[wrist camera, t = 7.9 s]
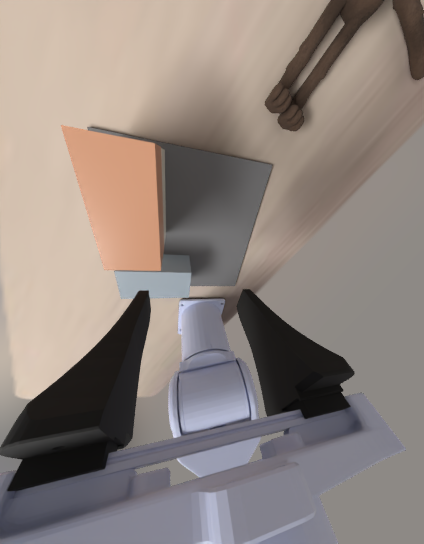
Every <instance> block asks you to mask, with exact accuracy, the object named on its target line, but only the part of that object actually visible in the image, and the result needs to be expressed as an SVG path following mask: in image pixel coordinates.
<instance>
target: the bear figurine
mask: <svg viewBox="0 0 424 544" xmlns="http://www.w3.org/2000/svg"><path fill="white" fill-rule="evenodd" d="M383 1H384V0H331V1H330V2H329V4H328V5H327V7H326V9H325V10H324V12H323V13H322V15H321V16H320V18H319V20H318V21H317V23H316V24H315V26H314V28H313V29H312V31H311V32H310V34H309V35H308V37H307V38H306V40H305V41H304V42H303V43H302V45H301V46H300V48H299V51H298V53H297V54H296V56H295V57H294V58H293V60H292V61H291V62H290V63H289V64H288V66H287V68H286V71H285V73H284V75H283V77H282V78H281V80H280V81H279V83H278V84H277V85H276V86H275V87H274V89H273V90H272V92H271V93H270V95H269V96H268V98H267V99H266V101H265V106H266V107H267V109H268V110H269V111H270V112H271V113H281V114H280V116H279V117H278V123H279V124H280V126H281V127H282V128H283V129H287V130H290V131H297V130H298V129H299V128H300V127H301V126H302V124H303V122H304V116H302V115H303V112H302V110H301V109H302V107H303V106H304V104H305V103H306V101H307V99H308V97H309V96H310V94H311V93H312V91H313V90H314V89H315V87H316V86H317V85H318V83H319V82H320V81H321V80H322V79H323V78H324V77H325V75H326V73H327V71H328V70H329V68H330V67H331V65H332V64H333V63H334V61H335V60H336V59H337V57H338V56H339V55H340V53H341V52H342V50H343V49H344V48H345V46H346V45H347V44H348V42H349V41H350V39H351V38H352V37H353V35H354V34H355V33H356V31H357V30H358V29H359V27H360V26H361V25H362V24H363V23H364V22H365V21H366V20H367V19H368V18H369V17H370V16H371V15H372V14H373V13H374V12H375V11H376V10H377V9H378V8H379V7H380V5H381V4H382V3H383ZM393 9H395V10H396V12H397V14H398V17H399V20H400V23H401V26H402V30H403V33H404V36H405V40H406V43H407V48H408V54H409V63H410V71H411V75H412V77H413V79H415V80H419V79H421V78H423V77H424V15H423V13H424V10H423V7H422V4H421V2H420V0H393ZM339 13H340V14H341V17H342V19H343V21H344V22H345V25H344V26H343V28H342V29H341V31H340V32H339V33H338V35H337V36H336V38H335V39H334V41H333V42H332V43H331V45H330V46H329V48H328V49H327V51H326V52H325V53H324V55H323V56H322V58H321V59H320V61H319V62H318V63H317V65H316V66H315V68H314V69H313V71H312V72H311V73H310V75H309V76H308V78H307V79H306V81H305V82H304V83H303V85H302V86H301V88H300V89H299V91H298V92H297V93H296V95H295V96H294V98H293V99H292V96H291V95H289V88H290V87H291V85H292V84H293V82H294V81H295V79H296V78H297V76H298V75H299V73H300V72H301V70H302V69H303V68H304V67H305V66H306V64H307V62H308V60H309V59H310V57H311V55H312V54H313V52H314V51H315V49H316V48H317V46H318V45H319V43H320V42H321V40H322V39H323V37H324V36H325V34H326V33H327V31H328V30H329V28H330V27H331V25H332V24H333V22H334V21H335V19H336V18H337V16H338V15H339ZM291 100H292V101H291Z"/></svg>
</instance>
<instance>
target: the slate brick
mask: <svg viewBox="0 0 424 544" xmlns="http://www.w3.org/2000/svg"><path fill="white" fill-rule="evenodd" d="M114 272H115V276H116V280H117V284H118V288H119V292H120V296H121V299H134V297H135V296H136V294H137V292H138V291H139V290H149V297H150V298H189V292H190V282H191V266H190V258H189V255H168V254H163V260H162V267H161V271H136V270H115V271H114Z"/></svg>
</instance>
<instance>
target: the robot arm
mask: <svg viewBox="0 0 424 544" xmlns="http://www.w3.org/2000/svg"><path fill="white" fill-rule="evenodd" d="M224 304H225V299H182V300H180V301H179V320H178V334H182V362H180V363H179V367H180V371H176V372H175V373H174V375H173V376H172V378H171V380H170V384H169V397H168V398H169V399H168V400H169V401H168V404H169V405H168V406H169V420H170V426H171V430H172V432H173V438H172V439H168V440H163V441H159V442H155V443H150V444H146V445H142V446H137V447H133V448H129V449H125V450H120V451H117V450H118V449H122V448H124V447H126V446H127V445H128V443H129V442H130V441H131V439H132V436H133V426H134V416H135V406H136V398H137V389H138V381H139V373H140V365H141V359H142V353H143V349H144V345H145V340H146V336H147V331H148V327H149V322H150V313H151V306H150V297H149V290H139V291H138V292H137V294H136V296H135V297H134V299H133V301H132V302H131V304H130V305H129V307H128V308H127V309H126V311H125V312H124V313H123V315H122V316H121V317H120V319H119V320H118V321H117V322H116V324H115V325H114V326H113V327H112V328H111V330H110V331H109V332H108V333H107V334H106V335H105V336H104V337H103V338H102V339H101V340H100V342H99V343H98V344H97V345H96V346H95V347H94V348H93V349H92V350H91V351H89V352H88V353H87V354H86V355H85V356H84V357H83V358H82V359H81V360H80V361H79V362H78V363H77V364H75V365H74V366H73V367H72V368H71V369H70V370H69V371H67V372H66V373H65V374H64V375H63V376H62V377H60V378H59V379H58V380H57V381H56V382H54V383H53V384H52V385H51V386H49V387H48V388H47V389H46V390H44V391H43V392H42V393H41V394H39V395H38V396H37V397H36V398H34V399H33V400H32V401H30V402H29V403H28V404H27V406H26V407H25V409H24V410H23V411H22V413H21V414H20V416H19V417H18V419H17V420H16V422H15V423H14V425H13V427H12V428H11V430H10V432H9V434H8V435H7V437H6V439H5V440H4V442H3V444H2V445H1V447H0V455H2V456H5V457H11V458H17V459H23V460H22V462H21V464H20V466H19V468H18V470H17V471H8V472H3V473H0V544H339V543H338V541H337V539H336V536H335V534H334V531H333V529H332V526H331V524H330V521H329V519H328V517H327V514H326V512H325V509H324V507H323V505H322V502H321V500H320V497H319V495H321V494H323V493H325V492H326V491H328V490H330V489H332V488H334V487H335V486H337V485H339V484H341V483H342V482H344V481H346V480H348V479H350V478H352V477H353V476H355V475H357V474H359V473H360V472H362V471H364V470H366V469H368V468H369V467H371V466H373V465H375V464H377V463H378V462H380V461H382V460H384V459H386V458H389V457H391V456H393V455H396V454H398V453H400V452H403V451H406V448H405V447H404V445H403V444H402V443H401V441H400V440H399V439H398V438H397V436H396V435H395V434H394V432H393V431H392V430H391V429H390V427H389V426H388V425H387V423H386V422H385V421H384V419H383V418H382V417H381V416H380V414H379V413H378V412H377V410H376V409H375V408H374V406H373V405H372V404H371V403H370V401H369V400H368V399H367V397H366V396H365V395H364V393H357V394H352V395H349V396H345V397H344V396H343V394H342V393H341V392H342V391H343V389H342V388H341V386H340V384H341V383H343V382H344V381H346V380H347V379H349V378H351V377H352V376H353V375H354V371H353V369H352V368H351V367H350V366H349V364H348V363H347V362H346V361H345V359H344V358H343V357H341V356H339V355H337V354H335V353H333V352H331V351H329V350H327V349H326V348H324V347H322V346H320V345H319V344H317V343H315V342H313V341H312V340H310V339H309V338H307V337H306V336H304V335H303V334H301V333H299V332H298V331H297V330H295V329H294V328H292V327H291V326H290V325H289V324H287V323H286V322H285V321H283V320H282V319H281V318H280V317H279V316H277V315H276V314H275V313H274V312H273V311H272V310H270V308H269V307H267V306H266V305H265V304H264V303H263V302H262V301H261V300H260V299H259V298H258V297H257V296H256V295H255V294H254V293H253V292H252V291H251V290H250V289H243V291H242V293H241V296H240V299H239V301H238V304H237V310H238V314H239V318H240V321H241V323H242V326H243V328H244V331H245V334H246V336H247V339H248V341H249V344H250V347H251V349H252V353H253V357H254V360H255V364H256V368H257V372H258V376H259V381H260V385H261V390H262V395H263V400H264V405H265V411H266V414H267V417H264V418H260V419H259V414H258V400H257V394H256V390H255V386H254V383H253V379H252V376H251V374H250V371H249V368H248V366H247V364H246V363H245V362H244V361H243V360H242V359H240V358H235V355H234V352H233V351H231V350H230V346H229V343H228V339H227V336H226V332H225V328H224V325H223V321H222V317H221V315H222V311H223V308H224ZM280 431H284V436H281V437H278V438H274V439H272V440H271V441H268V442H266V443H263V444H261V445H260V450H261V453H262V459H261V460H257V461H254V462H251V463H248V462H249V460H250V458H251V456H252V454H253V453H254V451H255V449H256V447H257V445H258V443H259V441H260V439H261V437H262V436H265V435H269V434H273V433H277V432H280ZM173 459H177V460H178V461H179V462H180V463H181V464H182V465H183V466H185V467H186V468H187V469H189V470H190V471H191V472H193V473H195V474H196V475H197V476H198V477H200V478H197V479H194V480H190V481H187V482H183V483H180V484H177V485H173V486H170V471H169V469H168V468H163V469H159V470H154V471H150V472H146V473H142V474H138V475H137V472H136V471H135V469H138V468H142V467H146V466H150V465H153V464H158V463H161V462H165V461H169V460H173Z"/></svg>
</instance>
